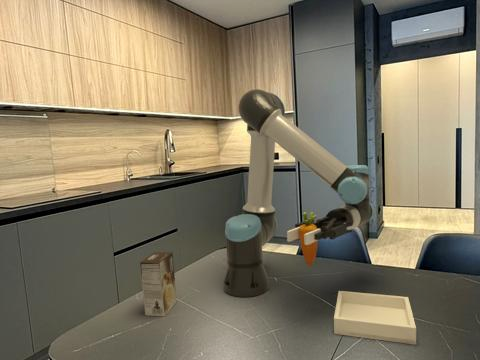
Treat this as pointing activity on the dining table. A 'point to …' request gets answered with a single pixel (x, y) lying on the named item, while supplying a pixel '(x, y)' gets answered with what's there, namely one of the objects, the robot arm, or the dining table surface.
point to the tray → (375, 317)
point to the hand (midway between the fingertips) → (296, 238)
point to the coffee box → (158, 283)
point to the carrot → (307, 250)
